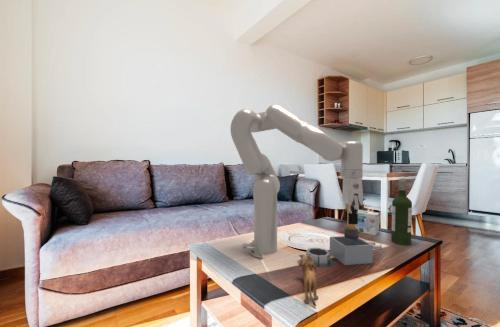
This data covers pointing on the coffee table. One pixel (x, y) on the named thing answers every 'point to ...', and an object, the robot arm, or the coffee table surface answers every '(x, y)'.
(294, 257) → the coffee table surface
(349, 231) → the strut
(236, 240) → the coffee table surface
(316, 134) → the robot arm
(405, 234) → the wine bottle
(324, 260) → the socket plate
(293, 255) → the coffee table surface
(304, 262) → the lion figurine
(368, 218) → the light bulb box
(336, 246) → the bin
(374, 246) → the adjustable wrench
